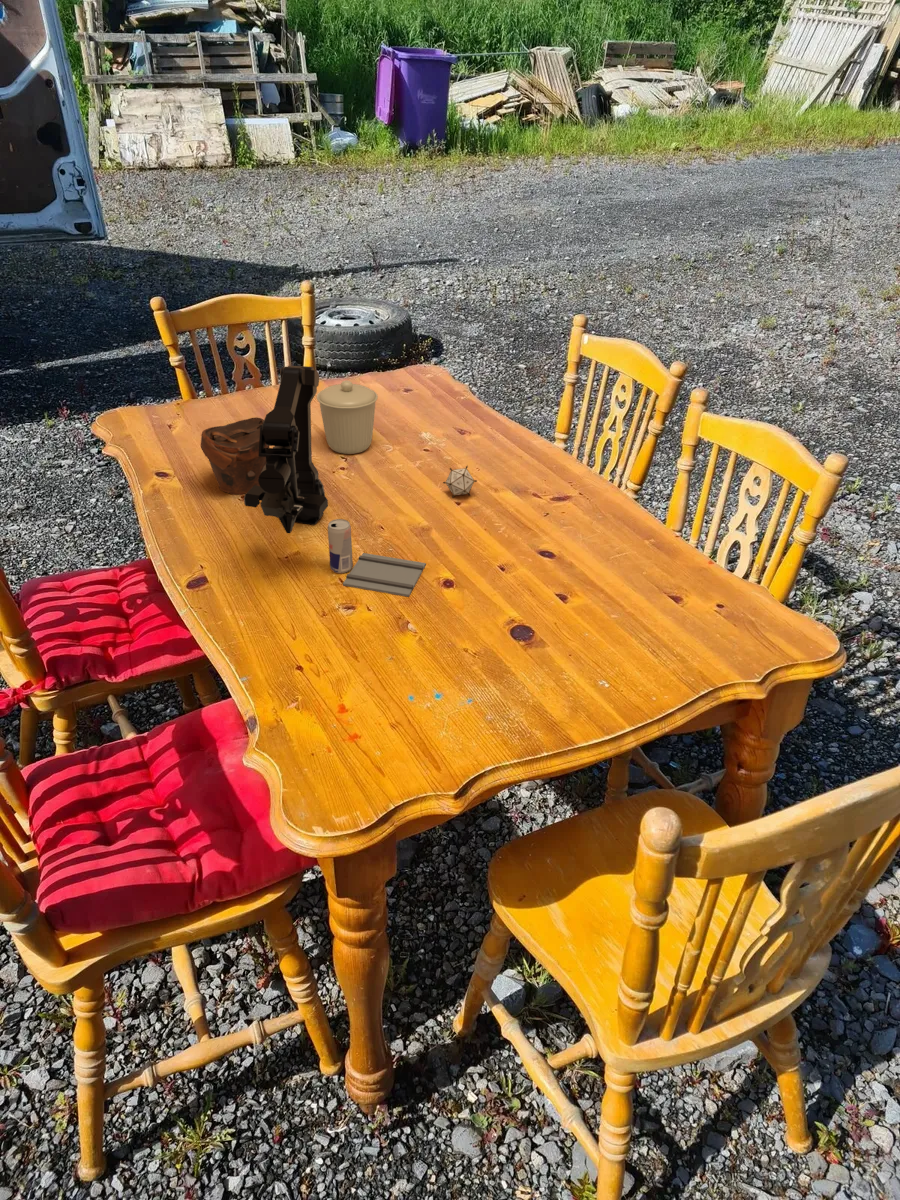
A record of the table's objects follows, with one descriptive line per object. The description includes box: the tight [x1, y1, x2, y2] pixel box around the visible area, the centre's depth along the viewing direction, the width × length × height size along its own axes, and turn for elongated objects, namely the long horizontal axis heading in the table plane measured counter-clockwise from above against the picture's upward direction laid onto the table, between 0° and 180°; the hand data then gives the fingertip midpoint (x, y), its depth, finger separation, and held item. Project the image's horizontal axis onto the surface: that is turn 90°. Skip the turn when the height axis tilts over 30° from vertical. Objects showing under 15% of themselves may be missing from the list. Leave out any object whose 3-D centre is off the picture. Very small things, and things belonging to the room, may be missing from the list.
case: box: [200, 416, 270, 495], centre depth 221 cm, size 18×20×18 cm
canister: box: [316, 379, 379, 455], centre depth 242 cm, size 18×18×21 cm
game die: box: [442, 465, 478, 499], centre depth 223 cm, size 9×8×10 cm
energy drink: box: [327, 518, 354, 574], centre depth 189 cm, size 5×5×12 cm
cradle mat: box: [342, 552, 427, 598], centre depth 190 cm, size 16×14×1 cm
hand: (289, 532), depth 191 cm, fingers closed
